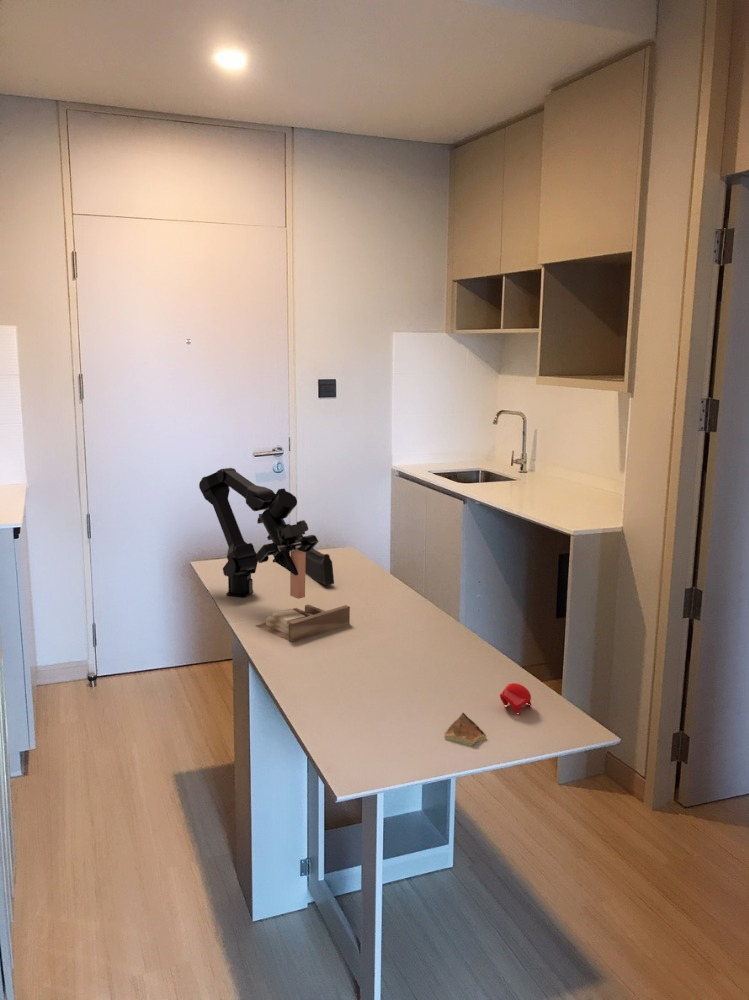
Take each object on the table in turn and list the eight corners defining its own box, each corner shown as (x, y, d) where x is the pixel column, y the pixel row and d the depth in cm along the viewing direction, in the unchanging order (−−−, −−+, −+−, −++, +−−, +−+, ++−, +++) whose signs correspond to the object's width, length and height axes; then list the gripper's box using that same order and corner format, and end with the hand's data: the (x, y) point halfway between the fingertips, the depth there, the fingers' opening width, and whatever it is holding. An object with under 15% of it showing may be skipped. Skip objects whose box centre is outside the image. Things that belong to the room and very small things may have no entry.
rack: (255, 629, 216) (255, 608, 215) (311, 612, 230) (311, 592, 229) (292, 646, 205) (292, 623, 204) (349, 627, 219) (349, 606, 218)
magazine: (337, 562, 249) (305, 516, 273) (327, 563, 248) (296, 516, 272) (330, 607, 257) (299, 558, 281) (321, 608, 256) (291, 559, 279)
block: (290, 595, 225) (290, 551, 222) (297, 593, 227) (297, 549, 224) (298, 598, 223) (298, 554, 220) (305, 597, 224) (305, 552, 222)
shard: (462, 718, 169) (463, 710, 169) (497, 727, 166) (497, 719, 165) (442, 740, 160) (442, 732, 159) (478, 750, 156) (479, 742, 156)
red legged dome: (513, 706, 167) (535, 689, 168) (495, 688, 171) (516, 671, 172) (518, 724, 173) (539, 707, 174) (500, 706, 177) (521, 689, 178)
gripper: (262, 516, 216) (287, 565, 211) (314, 507, 229) (340, 552, 224) (245, 538, 223) (269, 586, 218) (297, 528, 236) (321, 573, 231)
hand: (301, 573), depth 222 cm, fingers closed on block, 2 cm apart
